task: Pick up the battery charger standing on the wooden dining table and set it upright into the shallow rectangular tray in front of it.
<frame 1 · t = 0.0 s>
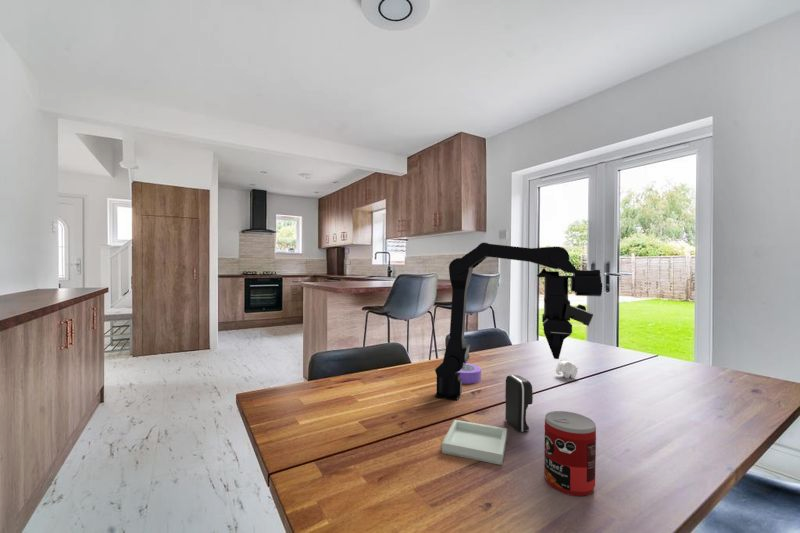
hand: (555, 354, 92), 15 cm above the table, fingers open, 9 cm apart
elephant figurine: (567, 378, 121), on the table
masking tape: (463, 379, 118), on the table
canned food: (568, 484, 61), on the table
shallow rectangular tray: (476, 444, 73), on the table
battery charger: (518, 426, 83), on the table
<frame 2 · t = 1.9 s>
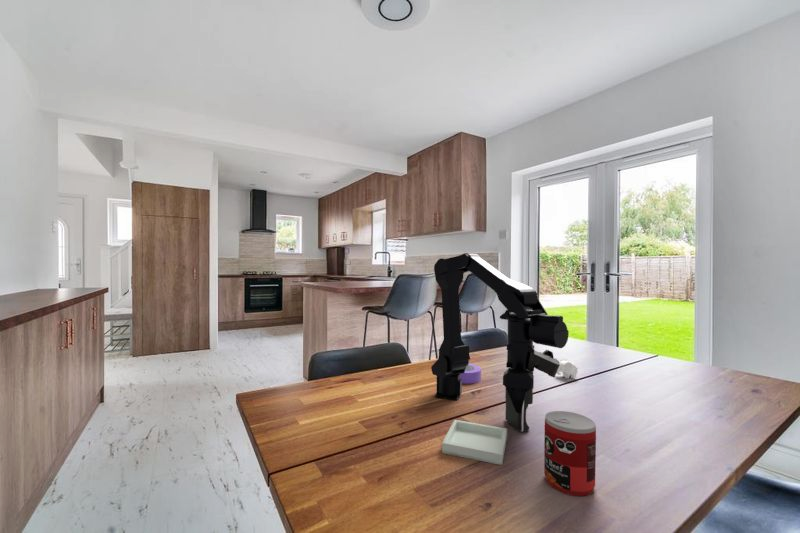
hand: (519, 406, 83), 5 cm above the table, fingers closed on battery charger, 7 cm apart
battery charger: (519, 426, 83), on the table, touching gripper
everything else where it was.
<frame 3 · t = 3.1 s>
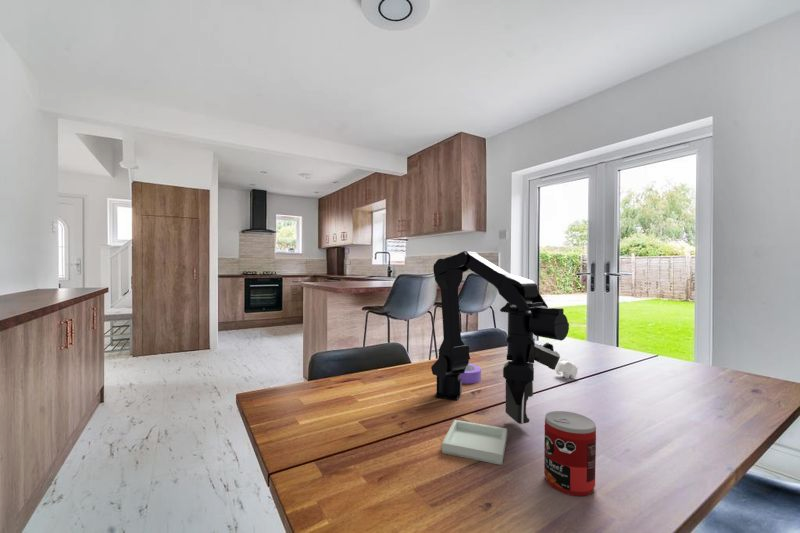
hand: (519, 399, 83), 6 cm above the table, fingers closed on battery charger, 7 cm apart
battery charger: (518, 419, 83), point 1 cm above the table, touching gripper
everything else where it was.
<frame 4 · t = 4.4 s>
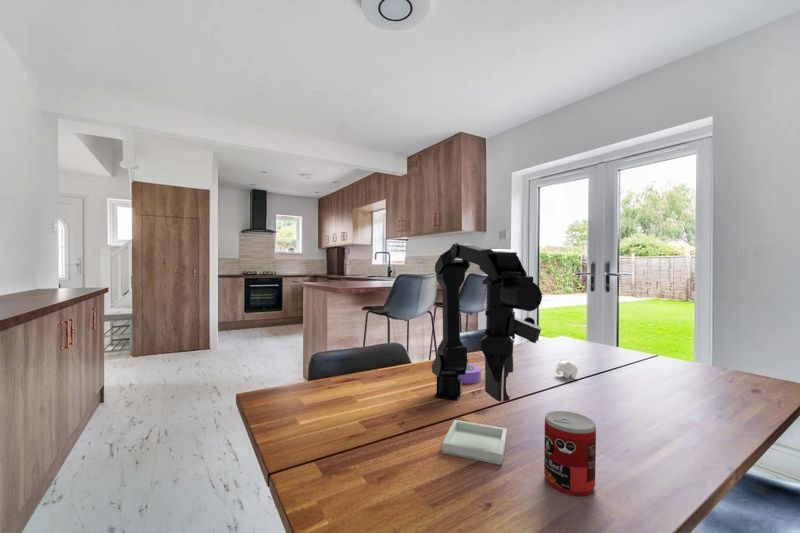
hand: (498, 376, 78), 13 cm above the table, fingers closed on battery charger, 7 cm apart
battery charger: (499, 397, 78), point 8 cm above the table, touching gripper
everything else where it was.
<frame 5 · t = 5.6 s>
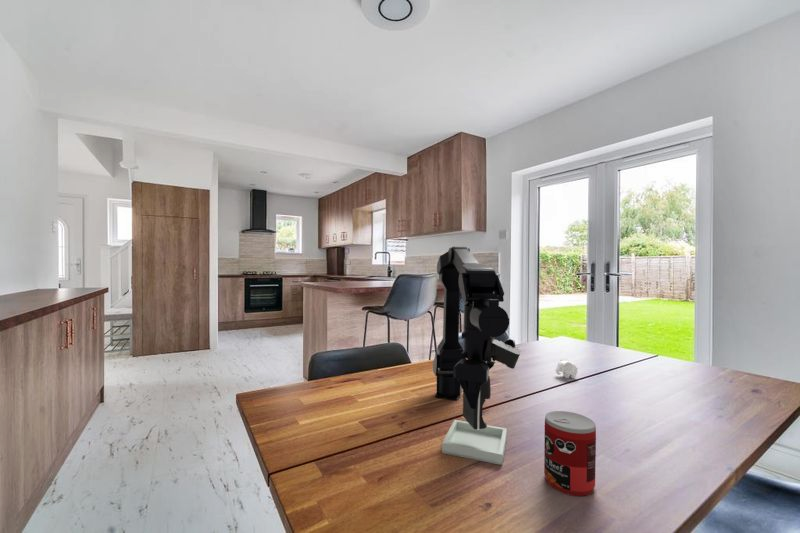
hand: (476, 401, 74), 9 cm above the table, fingers closed on battery charger, 7 cm apart
battery charger: (476, 424, 74), point 4 cm above the table, touching gripper
everything else where it was.
when the fingers open (6 cm above the table, at t = 6.6 s): battery charger drops 1 cm, resting on shallow rectangular tray.
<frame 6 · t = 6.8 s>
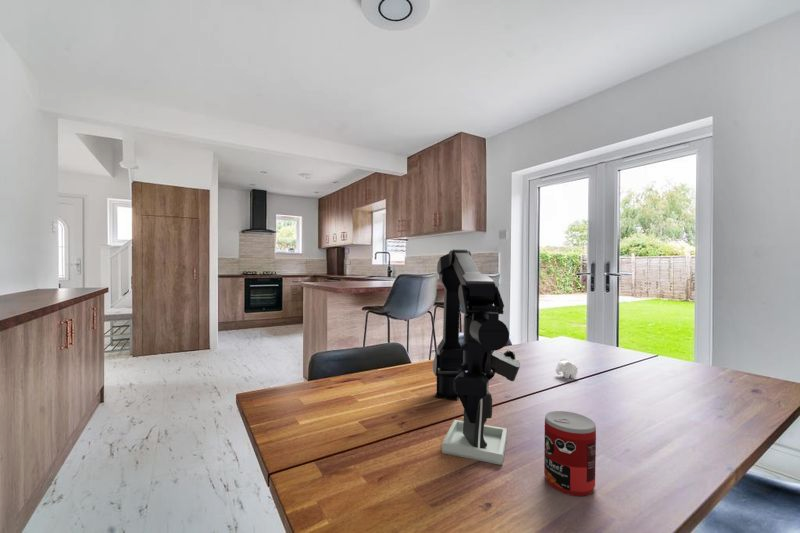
hand: (476, 413, 73), 6 cm above the table, fingers open, 9 cm apart
battery charger: (476, 442, 74), resting on shallow rectangular tray
everything else where it was.
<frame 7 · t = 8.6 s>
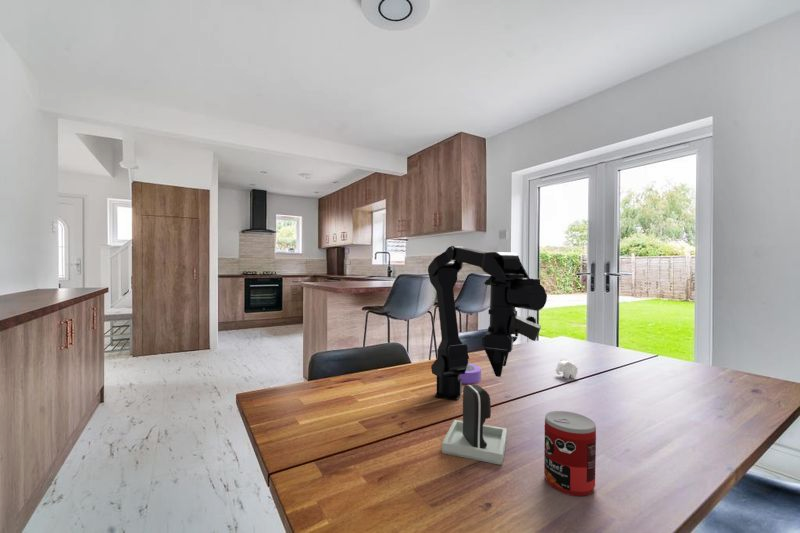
hand: (500, 370, 83), 13 cm above the table, fingers open, 9 cm apart
nothing on the table moved.
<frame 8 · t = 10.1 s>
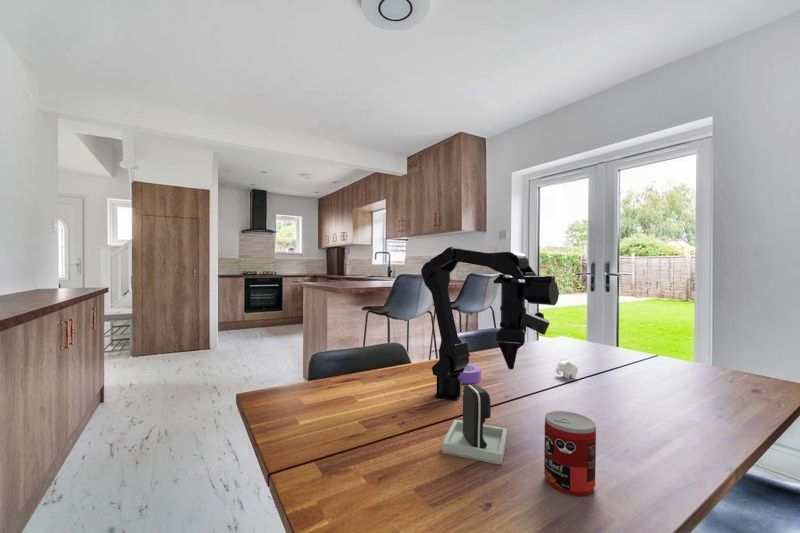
hand: (512, 364, 88), 13 cm above the table, fingers open, 9 cm apart
nothing on the table moved.
at the end: battery charger 0.3 cm off-centre on the shallow rectangular tray, point 0.3 cm above the shallow rectangular tray's base; battery charger tilted 0°; the gripper is holding nothing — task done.
